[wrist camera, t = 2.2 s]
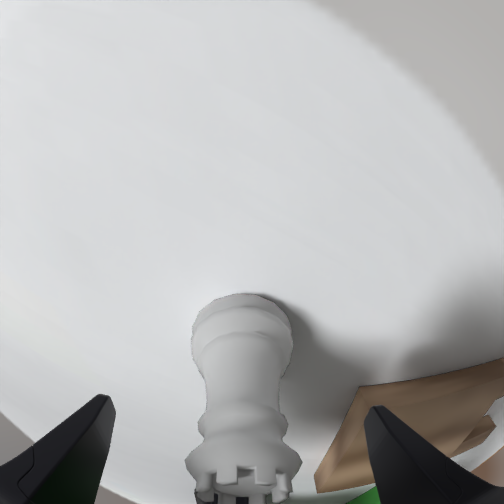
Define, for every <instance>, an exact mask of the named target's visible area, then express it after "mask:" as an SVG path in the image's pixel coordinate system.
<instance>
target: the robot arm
mask: <svg viewBox="0 0 504 504" xmlns="http://www.w3.org/2000/svg"><path fill="white" fill-rule="evenodd" d="M115 417H116V411H115V408H114V405H113V402H112V400H111V397H110V396H108V395H103V394H98V395H96V396H95V397H94V398H93V399H91V400H90V401H89V402H88V403H86V404H85V405H84V406H82V407H81V408H80V409H79V410H77V411H76V412H75V413H73V414H72V415H71V416H70V417H68V418H67V419H66V420H64V421H63V422H62V423H61V424H59V425H58V426H57V427H55V428H54V429H53V430H52V431H50V432H49V433H48V434H46V435H45V436H44V437H42V438H41V439H40V440H39V441H37V442H36V443H35V444H34V445H33V446H31V447H29V448H28V449H27V450H25V451H24V452H22V453H21V454H20V455H18V456H17V457H15V458H14V459H12V460H10V461H9V462H7V463H5V464H3V465H2V466H0V504H94V502H95V498H96V495H97V490H98V487H99V484H100V480H101V477H102V473H103V470H104V466H105V463H106V460H107V456H108V453H109V449H110V443H111V438H112V432H113V427H114V422H115ZM364 430H365V436H366V443H367V449H368V456H369V461H370V465H371V468H372V472H373V476H374V479H375V483H376V487H377V491H378V495H379V499H380V503H381V504H504V487H499V486H495V485H492V484H490V483H488V482H486V481H484V480H483V479H481V478H479V477H477V476H475V475H474V474H472V473H470V472H469V471H467V470H466V469H464V468H462V467H461V466H460V465H458V464H457V463H455V462H454V461H453V460H451V459H450V458H449V457H446V455H445V454H443V453H442V452H441V451H440V450H438V449H437V448H436V447H435V446H433V445H432V444H431V443H429V442H428V441H427V440H426V439H424V438H423V437H422V436H421V435H419V434H418V433H417V432H416V431H414V430H413V429H412V428H411V427H409V426H408V425H407V424H406V423H404V422H403V421H402V420H401V419H400V418H398V417H397V416H396V415H395V414H393V413H392V412H391V411H390V410H389V409H387V408H386V407H385V406H384V405H375V406H372V407H371V408H370V410H369V412H368V413H367V415H366V417H365V419H364ZM197 493H198V491H196V489H195V492H194V494H195V498H196V502H197V504H218V494H217V493H214V501H211V502H204V501H203V500H201V499H200V498H198V497H197ZM236 504H249V497H236Z"/></svg>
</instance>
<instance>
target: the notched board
mask: <svg viewBox="0 0 504 504" xmlns="http://www.w3.org/2000/svg"><path fill="white" fill-rule="evenodd" d="M503 396H504V358H501V359H498V360H495V361H491V362H488V363H485V364H481V365H477V366H474V367H470V368H466V369H462V370H458V371H454V372H449V373H445V374H440V375H435V376H430V377H425V378H420V379H414V380H408V381H402V382H395V383H388V384H381V385H373V386H364V387H359V389H358V391H357V393H356V396H355V398H354V400H353V402H352V404H351V406H350V409H349V411H348V413H347V415H346V417H345V419H344V421H343V423H342V425H341V427H340V429H339V431H338V433H337V435H336V437H335V439H334V441H333V442H332V444H331V446H330V448H329V450H328V452H327V453H326V455H325V457H324V459H323V461H322V462H321V464H320V466H319V467H318V469H317V471H316V472H315V474H314V479H315V485H316V490H317V493H325V492H332V491H338V490H344V489H349V488H354V487H359V486H364V485H368V484H372V483H375V479H374V476H373V472H372V468H371V465H370V461H369V456H368V449H367V443H366V436H365V430H364V419H365V417H366V415H367V413H368V412H369V410H370V408H371V407H372V406H375V405H384V406H385V407H386V408H387V409H389V410H390V411H391V412H392V413H393V414H395V415H396V416H397V417H398V418H400V419H401V420H402V421H403V422H404V423H406V424H407V425H408V426H409V427H411V428H412V429H413V430H414V431H416V432H417V433H418V434H419V435H421V436H422V437H423V438H424V439H426V440H427V441H428V442H429V443H431V444H432V445H433V446H435V447H436V448H437V449H438V450H440V451H441V452H442V453H443V454H445V455H446V457H449V458H451V457H454V456H456V455H458V454H461V453H463V452H465V451H467V450H469V449H471V448H473V447H475V446H477V445H479V444H481V443H483V441H484V440H485V439H486V438H487V437H488V436H489V435H490V433H491V432H492V431H493V430H494V429H495V427H496V425H495V424H494V422H493V421H492V419H491V418H490V416H489V415H487V416H485V417H483V416H484V415H485V413H486V412H487V411H488V409H489V408H490V406H491V405H492V404H493V402H494V401H495V400H496V399H499V398H501V397H503Z"/></svg>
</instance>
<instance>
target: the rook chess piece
mask: <svg viewBox="0 0 504 504" xmlns="http://www.w3.org/2000/svg"><path fill="white" fill-rule="evenodd" d="M192 333H193V336H192V338H191V349H192V357H193V360H194V362H195V364H196V366H197V367H198V369H199V372H200V374H201V375H202V377H203V379H204V380H205V384H206V398H207V403H206V412H205V413H204V414H203V415H202V417H201V418H200V419H199V421H198V430H199V432H200V434H201V435H202V436H203V437H204V441H203V443H202V444H201V445H199V446H198V447H197V448H196V449H194V450H193V451H192V452H191V453H190V454H189V455H188V457H187V458H186V459H185V463H186V468H187V470H188V471H189V473H190V474H191V475H192V476H193V478H194V479H195V480H196V481H197V484H196V491H198V493H197V497H198V498H200V499H201V500H203V501H204V502H211V501H214V493H217V494H218V504H236V497H249V504H266V495H267V494H270V493H272V502H276V503H281V502H283V501H285V500H287V499H288V498H289V493H290V492H293V490H292V483H291V480H292V479H293V478H294V476H295V475H296V474H297V472H298V471H299V469H300V467H301V464H302V460H301V458H300V456H299V454H298V453H297V452H296V451H294V450H293V449H291V448H290V447H289V446H287V445H286V444H285V443H284V442H283V441H282V437H283V436H284V435H285V434H286V431H287V428H288V423H287V420H286V418H285V416H284V415H283V414H281V413H280V408H279V384H280V379H281V378H282V376H283V375H284V373H285V369H286V368H287V366H288V365H289V364H290V359H291V354H292V349H293V344H294V343H293V340H292V337H291V335H292V329H291V326H290V323H289V320H288V317H287V315H286V314H285V313H284V312H283V311H282V310H281V309H280V308H279V307H278V306H277V305H276V304H275V303H274V302H271V301H269V300H266V299H264V298H262V297H259V296H257V295H247V294H232V295H229V296H225V297H222V298H219V299H215V300H213V301H212V302H211V303H210V304H208V305H207V306H206V307H205V308H203V309H202V310H201V311H199V314H198V316H197V318H196V320H195V322H194V324H193V326H192Z"/></svg>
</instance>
